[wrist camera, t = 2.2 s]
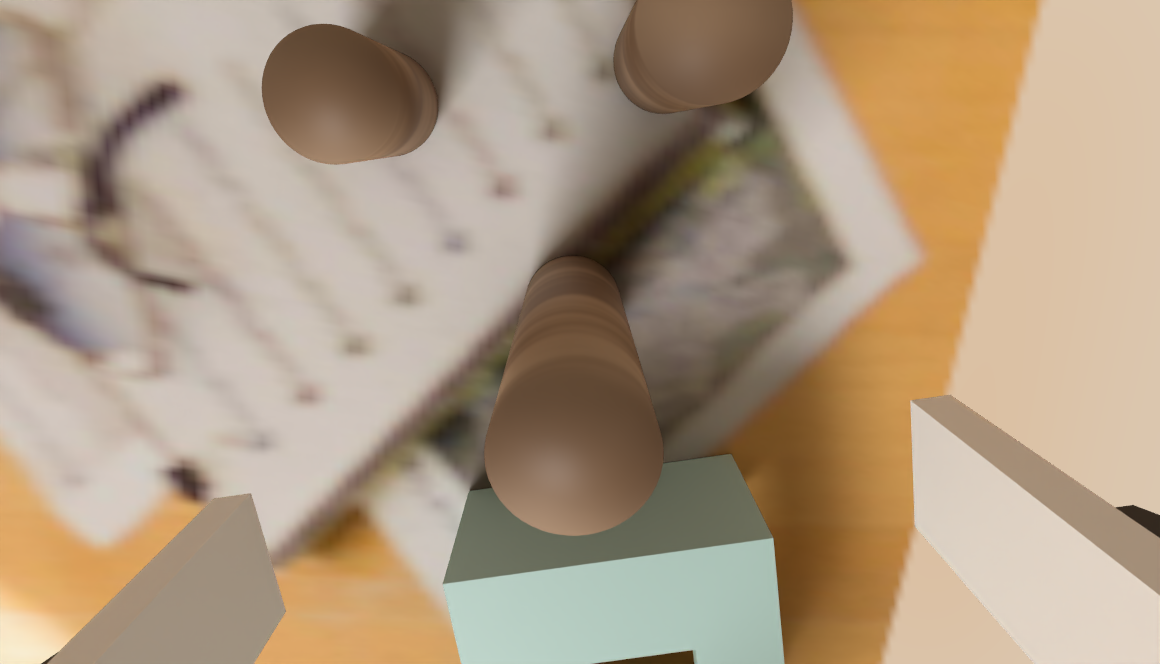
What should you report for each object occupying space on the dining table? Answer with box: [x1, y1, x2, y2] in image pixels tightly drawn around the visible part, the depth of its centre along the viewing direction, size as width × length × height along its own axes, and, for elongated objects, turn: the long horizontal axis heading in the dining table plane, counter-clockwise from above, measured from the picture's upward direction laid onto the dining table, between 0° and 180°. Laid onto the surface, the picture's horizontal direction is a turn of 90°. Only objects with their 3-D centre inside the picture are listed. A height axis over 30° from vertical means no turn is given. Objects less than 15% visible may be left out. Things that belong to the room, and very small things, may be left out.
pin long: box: [484, 255, 664, 536], centre depth 23 cm, size 4×4×15 cm
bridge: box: [443, 454, 784, 664], centre depth 31 cm, size 14×12×7 cm
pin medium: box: [613, 0, 793, 114], centre depth 23 cm, size 4×4×10 cm
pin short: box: [262, 24, 438, 164], centre depth 25 cm, size 4×4×7 cm
